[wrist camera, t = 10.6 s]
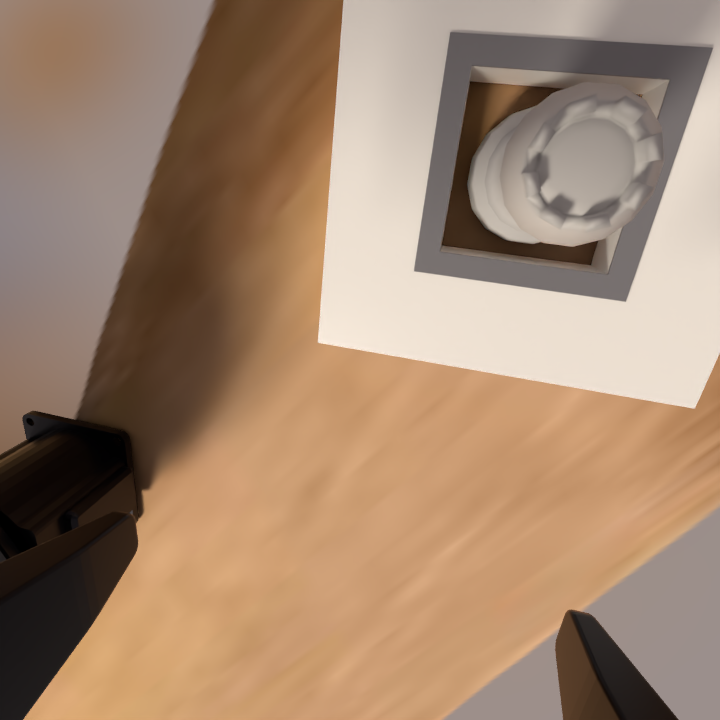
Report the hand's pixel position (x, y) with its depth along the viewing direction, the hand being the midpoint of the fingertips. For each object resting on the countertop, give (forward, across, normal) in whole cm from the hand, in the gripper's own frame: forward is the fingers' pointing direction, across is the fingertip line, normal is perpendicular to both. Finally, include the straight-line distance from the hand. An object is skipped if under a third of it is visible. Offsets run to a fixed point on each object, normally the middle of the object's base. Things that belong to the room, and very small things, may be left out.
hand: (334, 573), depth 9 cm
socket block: (+11, -4, -8) cm, 15 cm away
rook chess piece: (+12, -4, -8) cm, 15 cm away
